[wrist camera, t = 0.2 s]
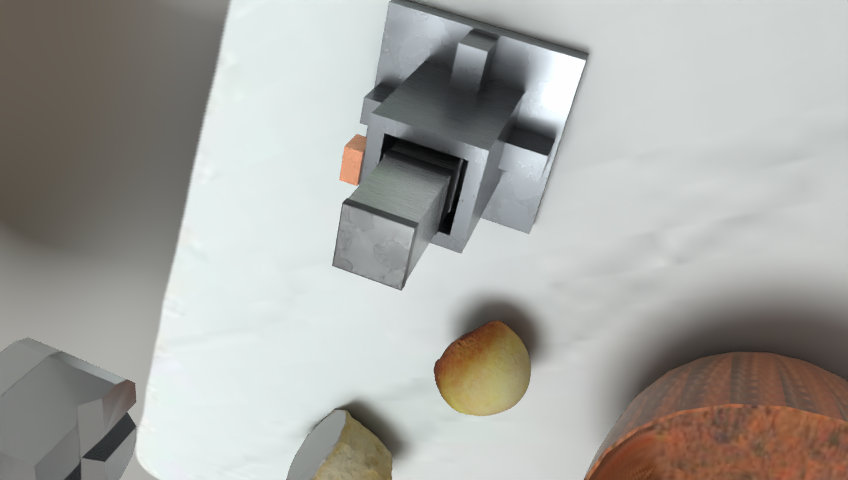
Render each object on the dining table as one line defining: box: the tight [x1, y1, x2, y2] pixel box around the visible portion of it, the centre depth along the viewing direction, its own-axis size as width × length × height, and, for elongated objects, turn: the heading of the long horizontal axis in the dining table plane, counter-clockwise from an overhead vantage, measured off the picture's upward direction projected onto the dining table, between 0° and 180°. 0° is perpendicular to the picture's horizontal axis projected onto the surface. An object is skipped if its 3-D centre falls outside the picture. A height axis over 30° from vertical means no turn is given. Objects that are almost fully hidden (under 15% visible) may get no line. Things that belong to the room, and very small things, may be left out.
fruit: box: [434, 320, 531, 416], centre depth 64 cm, size 8×8×8 cm
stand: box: [339, 0, 588, 253], centre depth 53 cm, size 14×14×12 cm
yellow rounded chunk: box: [286, 409, 392, 480], centre depth 75 cm, size 10×10×10 cm
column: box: [332, 138, 469, 291], centre depth 49 cm, size 4×4×18 cm
